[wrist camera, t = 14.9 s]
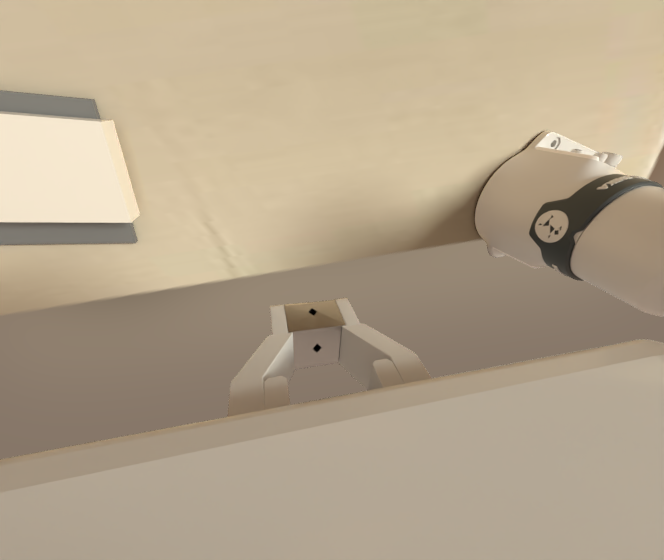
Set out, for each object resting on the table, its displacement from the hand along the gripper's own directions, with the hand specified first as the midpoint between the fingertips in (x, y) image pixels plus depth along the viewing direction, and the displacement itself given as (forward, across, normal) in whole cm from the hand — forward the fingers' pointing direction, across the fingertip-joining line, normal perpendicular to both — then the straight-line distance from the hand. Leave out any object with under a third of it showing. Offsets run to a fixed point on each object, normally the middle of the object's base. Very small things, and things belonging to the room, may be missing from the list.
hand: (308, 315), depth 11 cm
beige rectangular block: (+24, -14, +1) cm, 28 cm away
